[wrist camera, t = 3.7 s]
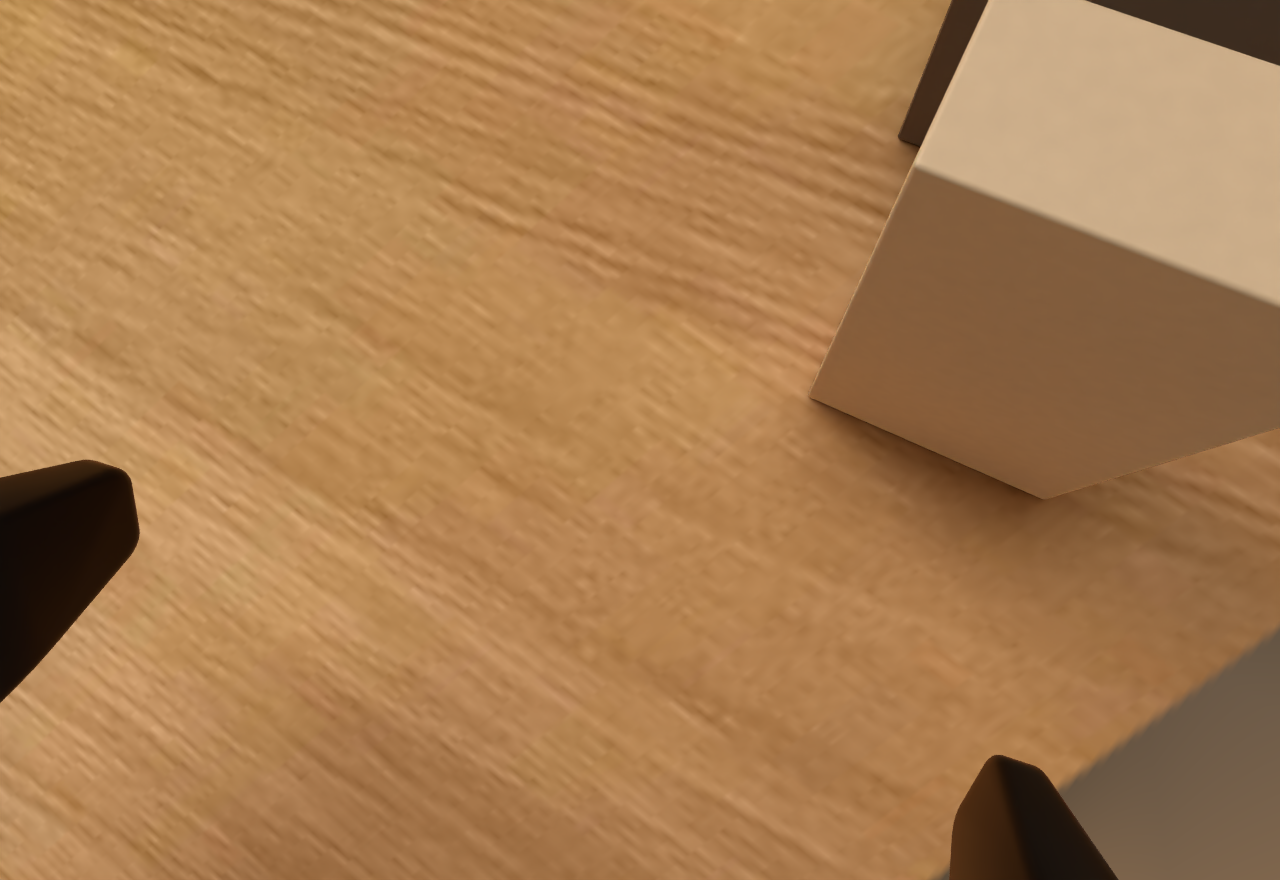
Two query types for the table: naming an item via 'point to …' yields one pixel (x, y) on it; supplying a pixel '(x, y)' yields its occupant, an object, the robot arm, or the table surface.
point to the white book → (1076, 256)
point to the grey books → (1187, 3)
